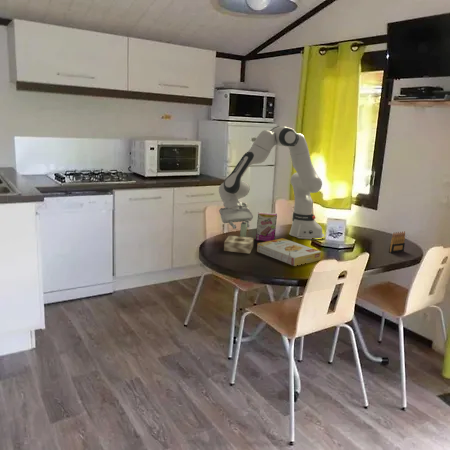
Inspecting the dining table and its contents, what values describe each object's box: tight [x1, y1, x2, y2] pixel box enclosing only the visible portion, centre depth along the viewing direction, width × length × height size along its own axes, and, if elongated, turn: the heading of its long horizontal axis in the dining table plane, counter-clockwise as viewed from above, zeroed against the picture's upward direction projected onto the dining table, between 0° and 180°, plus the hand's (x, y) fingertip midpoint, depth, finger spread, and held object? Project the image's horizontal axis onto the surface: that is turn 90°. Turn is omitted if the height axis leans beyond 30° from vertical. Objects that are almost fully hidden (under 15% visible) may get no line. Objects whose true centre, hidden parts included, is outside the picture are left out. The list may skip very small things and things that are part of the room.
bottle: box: [239, 221, 248, 237], centre depth 254 cm, size 4×4×12 cm
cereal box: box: [256, 237, 322, 267], centre depth 235 cm, size 20×6×28 cm
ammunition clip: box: [388, 231, 406, 254], centre depth 255 cm, size 11×2×12 cm, turn 120°
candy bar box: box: [255, 211, 278, 242], centre depth 261 cm, size 11×5×16 cm, turn 84°
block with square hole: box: [223, 235, 255, 254], centre depth 243 cm, size 14×14×5 cm
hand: (241, 227), depth 255 cm, fingers open, 8 cm apart
